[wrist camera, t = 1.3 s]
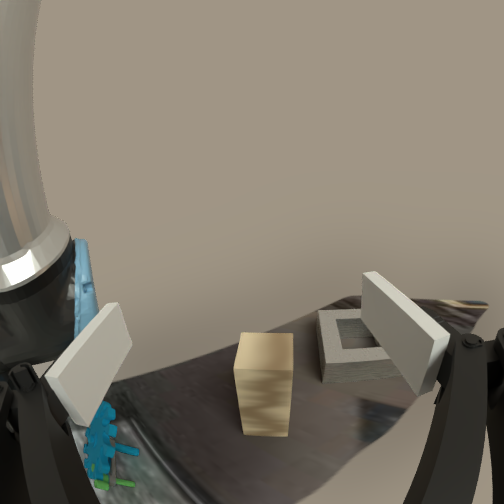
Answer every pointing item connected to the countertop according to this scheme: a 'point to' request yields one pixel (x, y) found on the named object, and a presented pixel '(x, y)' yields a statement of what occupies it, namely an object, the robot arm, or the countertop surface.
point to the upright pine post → (264, 382)
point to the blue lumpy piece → (104, 449)
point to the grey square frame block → (349, 360)
